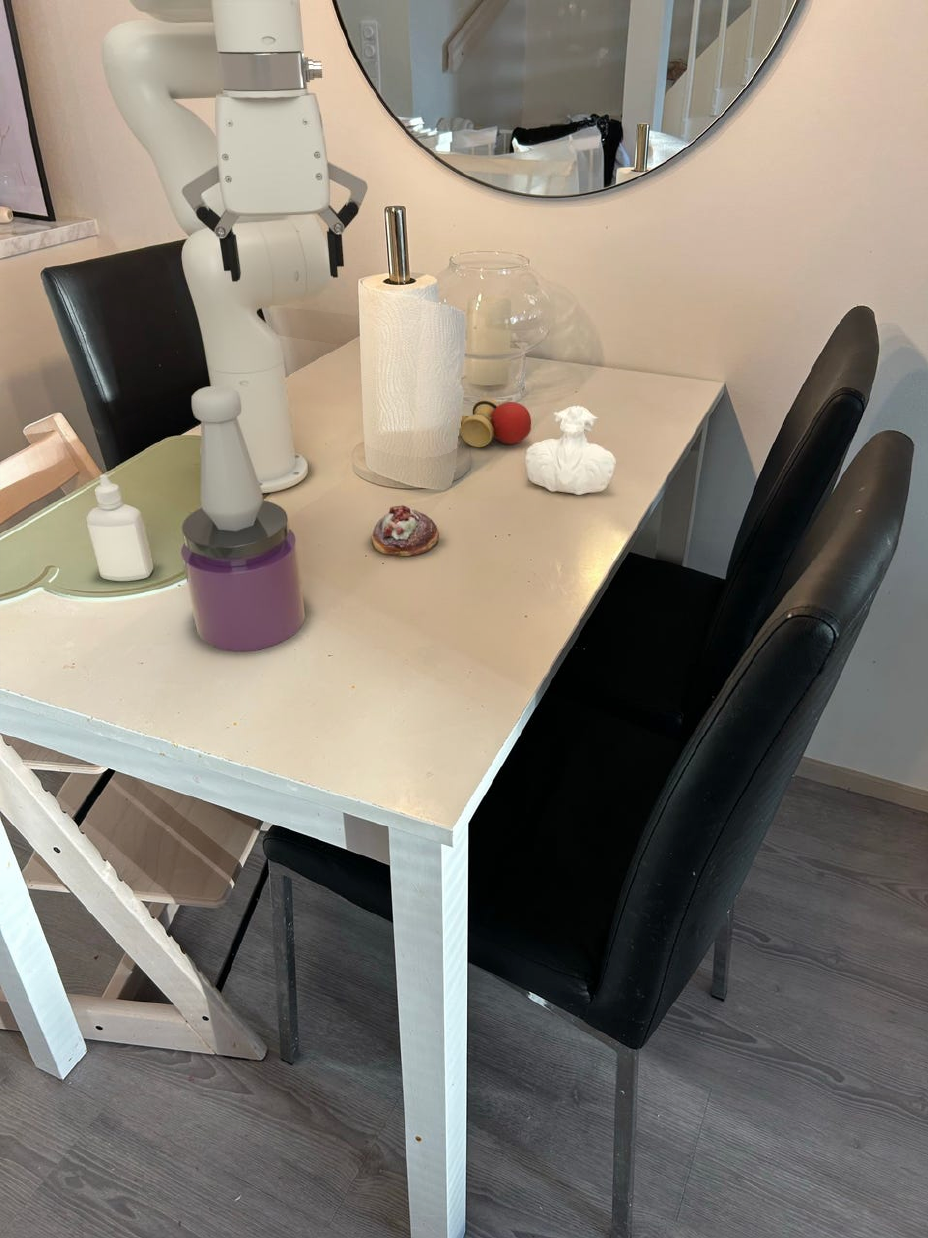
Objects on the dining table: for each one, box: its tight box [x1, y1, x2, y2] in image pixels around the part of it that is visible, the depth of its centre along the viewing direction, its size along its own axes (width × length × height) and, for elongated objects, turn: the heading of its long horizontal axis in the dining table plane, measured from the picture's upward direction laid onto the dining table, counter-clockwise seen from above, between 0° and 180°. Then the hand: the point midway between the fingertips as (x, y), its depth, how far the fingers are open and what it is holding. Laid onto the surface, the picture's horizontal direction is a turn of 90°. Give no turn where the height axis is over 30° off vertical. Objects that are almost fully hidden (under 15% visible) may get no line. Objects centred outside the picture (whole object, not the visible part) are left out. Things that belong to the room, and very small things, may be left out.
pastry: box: [371, 504, 440, 557], centre depth 105 cm, size 8×8×5 cm
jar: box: [180, 499, 306, 652], centre depth 89 cm, size 11×11×12 cm
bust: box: [524, 404, 617, 496], centre depth 117 cm, size 12×8×11 cm
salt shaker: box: [191, 385, 264, 531], centre depth 83 cm, size 6×6×13 cm
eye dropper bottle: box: [85, 474, 154, 582], centre depth 97 cm, size 4×6×12 cm
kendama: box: [459, 397, 532, 448], centre depth 131 cm, size 8×6×18 cm
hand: (285, 276), depth 90 cm, fingers open, 9 cm apart
